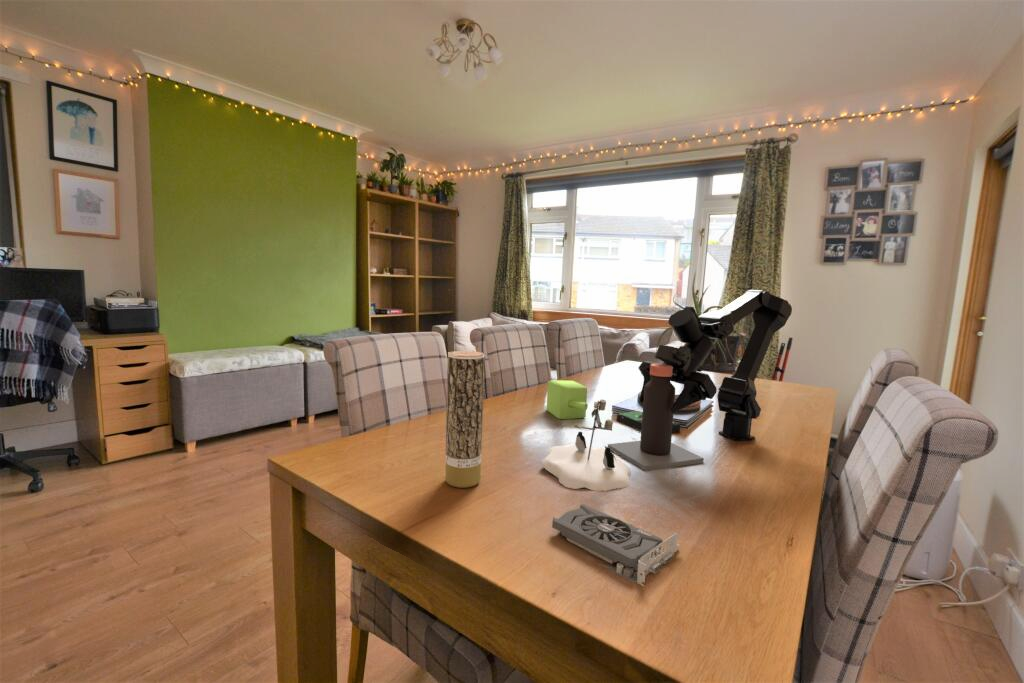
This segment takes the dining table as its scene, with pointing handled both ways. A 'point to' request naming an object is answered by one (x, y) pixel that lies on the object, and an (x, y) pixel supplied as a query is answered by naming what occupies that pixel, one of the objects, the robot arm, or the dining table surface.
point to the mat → (654, 456)
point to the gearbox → (566, 399)
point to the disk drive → (639, 420)
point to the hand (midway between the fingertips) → (655, 406)
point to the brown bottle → (658, 411)
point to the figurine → (588, 461)
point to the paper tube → (464, 418)
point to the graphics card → (616, 542)
